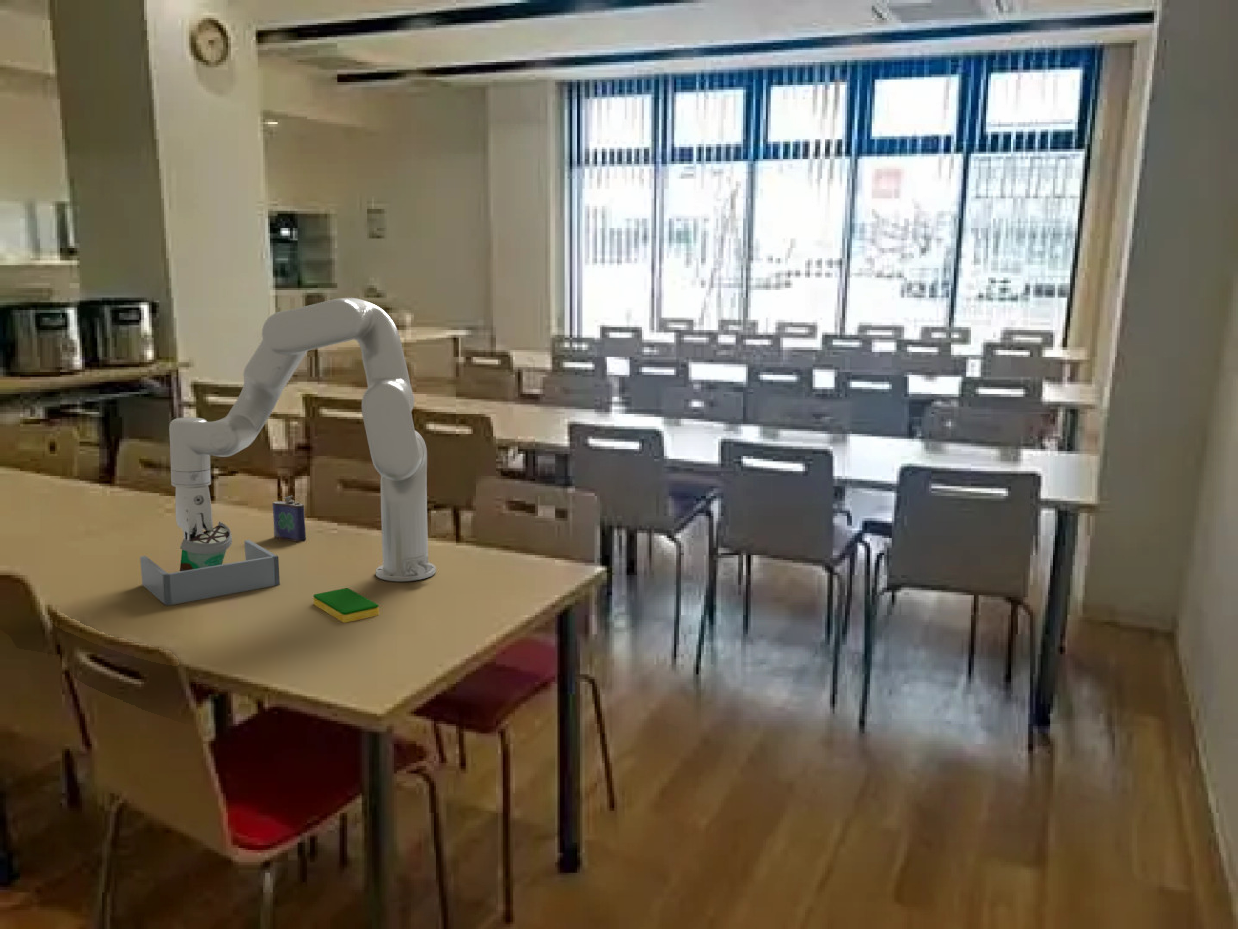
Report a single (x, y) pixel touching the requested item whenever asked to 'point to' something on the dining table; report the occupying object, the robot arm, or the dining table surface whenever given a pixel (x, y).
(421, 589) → the dining table surface
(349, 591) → the dish sponge
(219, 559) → the food container
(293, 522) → the flask
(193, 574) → the grey u-shaped frame
